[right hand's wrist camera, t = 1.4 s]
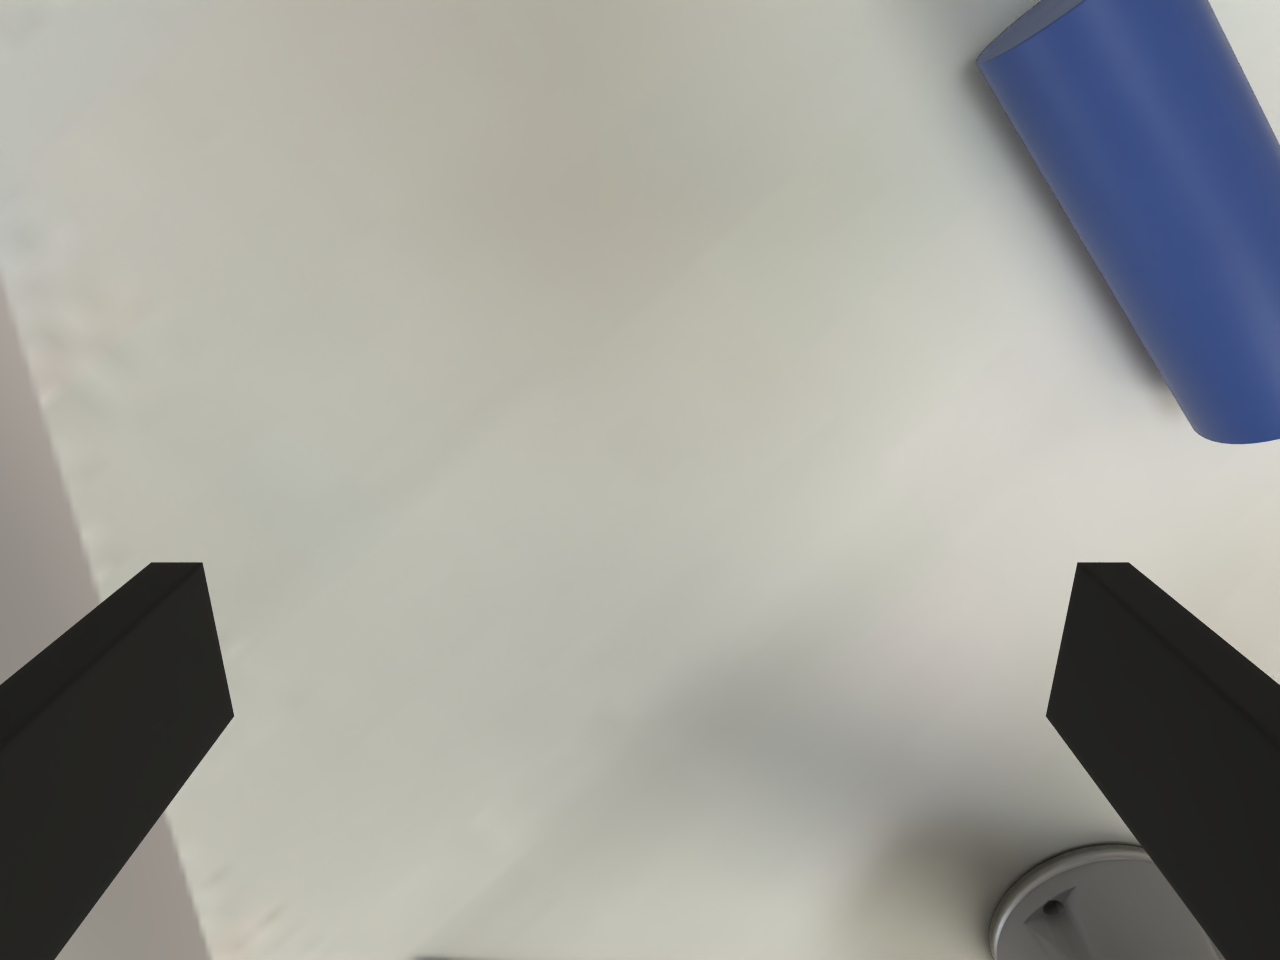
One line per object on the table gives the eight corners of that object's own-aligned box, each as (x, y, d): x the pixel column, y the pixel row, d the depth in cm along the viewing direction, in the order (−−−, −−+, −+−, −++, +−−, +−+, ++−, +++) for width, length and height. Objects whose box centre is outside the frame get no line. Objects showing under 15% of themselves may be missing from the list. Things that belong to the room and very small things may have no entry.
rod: (950, 73, 42) (1023, 49, 34) (1101, -49, 40) (1215, -104, 32) (1158, 417, 48) (1261, 465, 40) (1297, 325, 46) (1434, 356, 38)
